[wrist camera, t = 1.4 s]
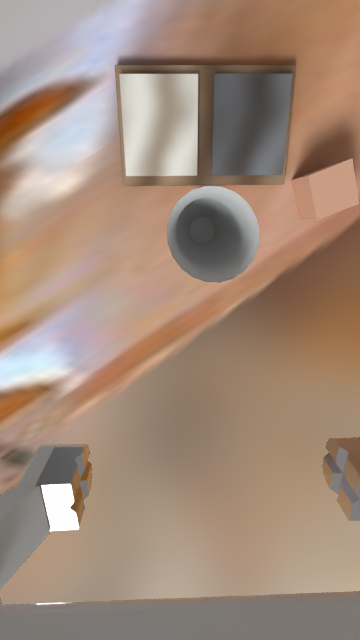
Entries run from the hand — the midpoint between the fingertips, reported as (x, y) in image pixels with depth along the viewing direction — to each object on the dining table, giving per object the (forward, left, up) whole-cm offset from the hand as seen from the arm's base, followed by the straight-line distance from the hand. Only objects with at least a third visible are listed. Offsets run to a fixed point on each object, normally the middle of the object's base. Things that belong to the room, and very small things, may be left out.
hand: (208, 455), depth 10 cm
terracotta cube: (+17, +10, -33) cm, 39 cm away
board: (+3, +17, -33) cm, 37 cm away
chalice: (+2, +6, -33) cm, 34 cm away
